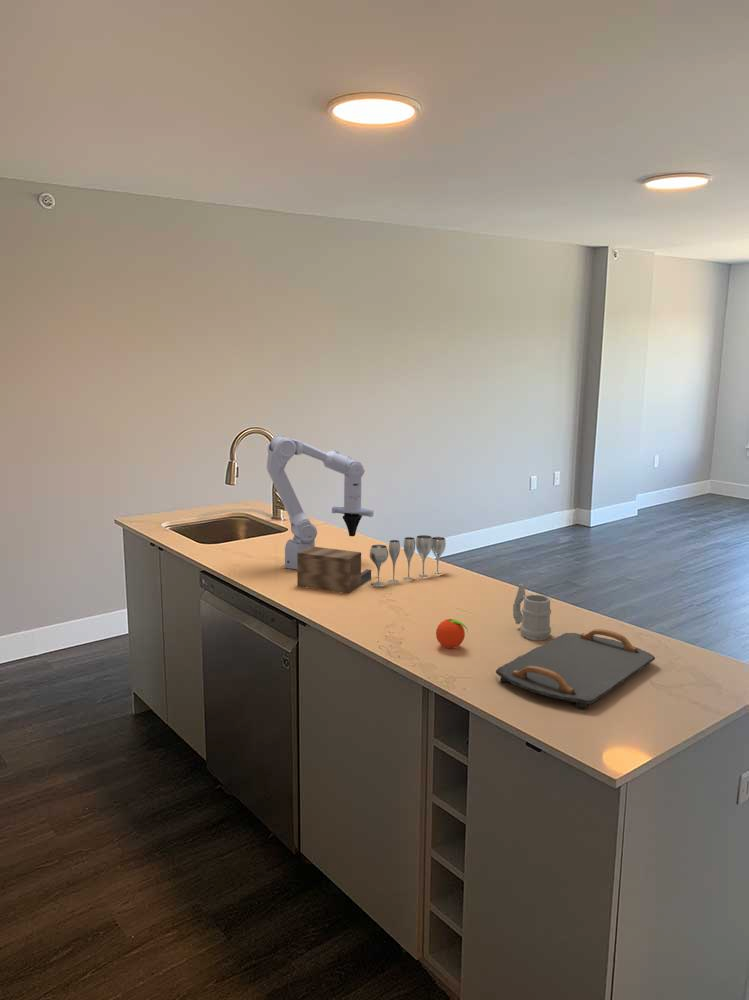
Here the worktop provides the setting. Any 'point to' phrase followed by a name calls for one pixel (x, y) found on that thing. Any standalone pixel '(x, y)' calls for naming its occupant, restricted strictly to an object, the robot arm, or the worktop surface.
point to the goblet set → (407, 553)
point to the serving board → (576, 666)
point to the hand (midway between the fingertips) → (352, 535)
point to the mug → (532, 615)
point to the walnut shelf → (330, 569)
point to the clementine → (450, 633)
